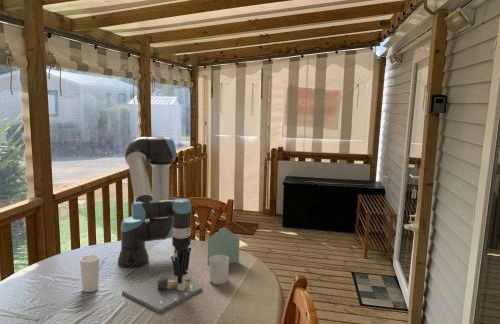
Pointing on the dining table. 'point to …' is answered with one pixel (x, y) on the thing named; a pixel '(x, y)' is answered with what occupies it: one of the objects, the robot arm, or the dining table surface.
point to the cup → (89, 272)
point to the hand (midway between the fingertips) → (181, 289)
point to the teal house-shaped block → (224, 245)
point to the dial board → (159, 293)
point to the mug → (219, 269)
